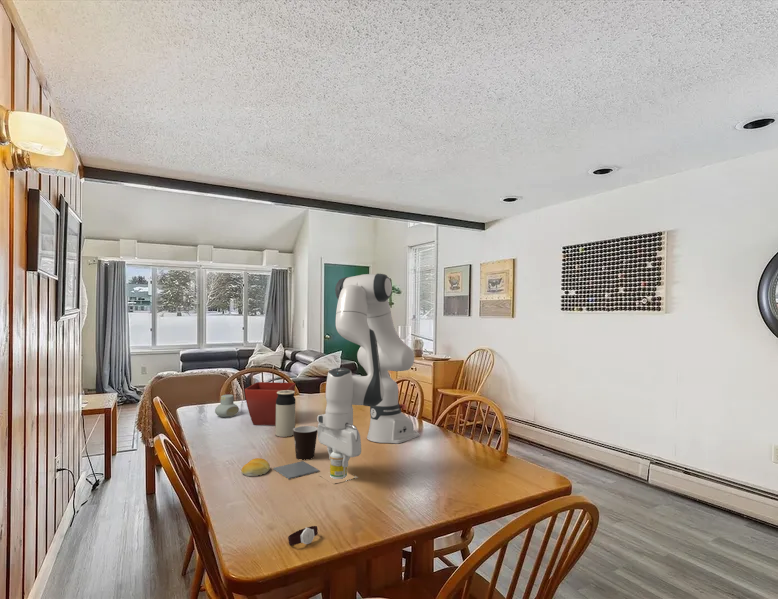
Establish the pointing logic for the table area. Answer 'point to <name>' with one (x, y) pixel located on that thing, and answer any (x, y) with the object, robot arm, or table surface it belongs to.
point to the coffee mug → (305, 441)
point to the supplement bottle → (337, 465)
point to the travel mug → (285, 413)
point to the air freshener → (227, 407)
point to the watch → (303, 535)
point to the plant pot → (264, 401)
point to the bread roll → (255, 467)
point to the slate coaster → (296, 469)
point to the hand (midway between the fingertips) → (338, 463)
